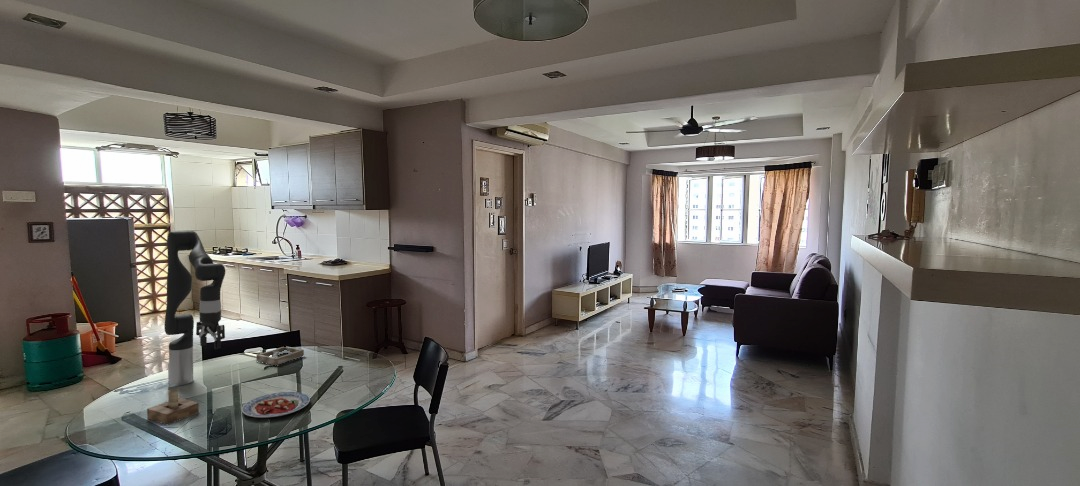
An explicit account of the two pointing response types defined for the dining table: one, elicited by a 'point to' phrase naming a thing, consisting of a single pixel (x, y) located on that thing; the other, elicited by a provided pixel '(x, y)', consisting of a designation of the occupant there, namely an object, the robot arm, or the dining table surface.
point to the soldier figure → (275, 354)
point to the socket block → (172, 411)
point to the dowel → (172, 396)
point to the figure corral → (275, 361)
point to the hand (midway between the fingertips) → (210, 347)
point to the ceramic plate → (275, 404)
